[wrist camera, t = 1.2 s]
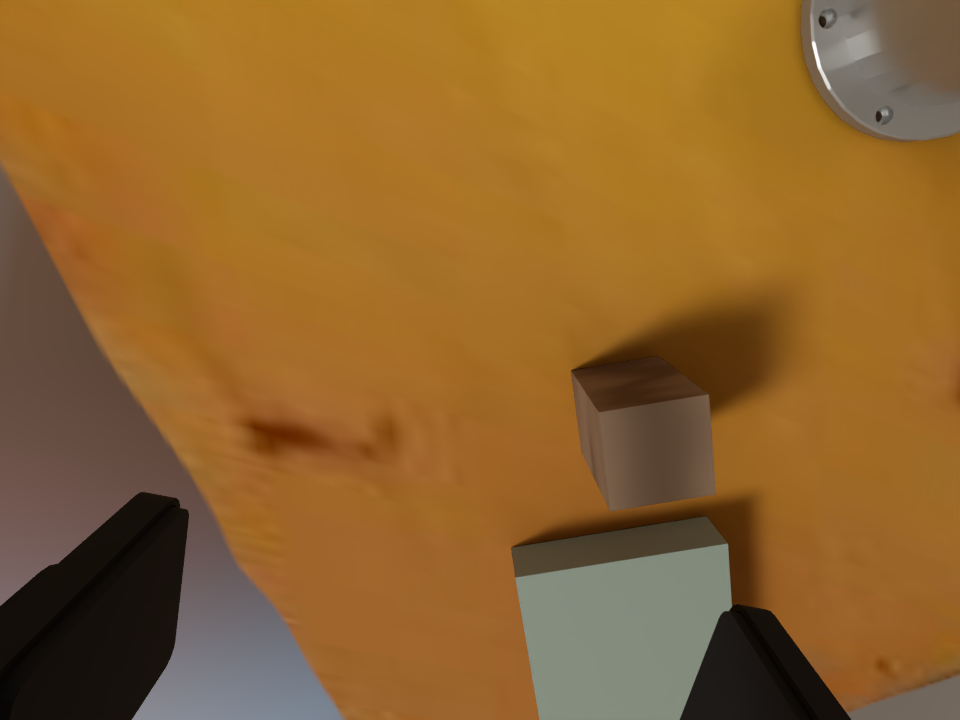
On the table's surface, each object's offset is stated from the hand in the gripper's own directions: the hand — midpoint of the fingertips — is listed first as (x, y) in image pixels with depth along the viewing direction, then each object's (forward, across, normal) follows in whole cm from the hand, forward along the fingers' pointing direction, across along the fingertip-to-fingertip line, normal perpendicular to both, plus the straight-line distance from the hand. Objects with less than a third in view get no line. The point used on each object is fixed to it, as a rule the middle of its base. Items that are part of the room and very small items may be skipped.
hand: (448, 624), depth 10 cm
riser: (+23, -14, +16) cm, 31 cm away
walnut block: (+23, -10, +2) cm, 25 cm away
